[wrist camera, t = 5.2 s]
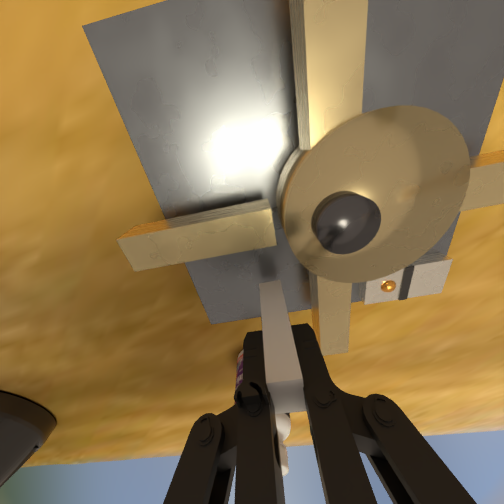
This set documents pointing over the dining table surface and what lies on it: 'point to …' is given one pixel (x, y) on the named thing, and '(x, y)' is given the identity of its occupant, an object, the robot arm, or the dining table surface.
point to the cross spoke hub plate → (281, 117)
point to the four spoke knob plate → (340, 180)
